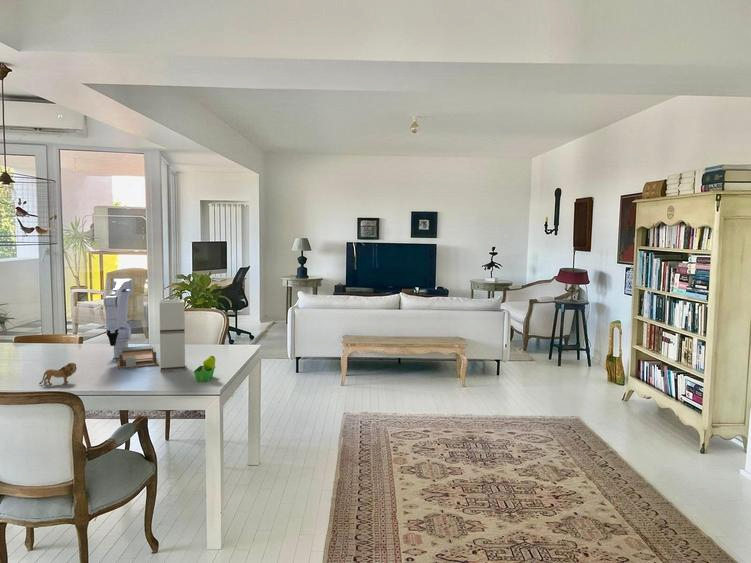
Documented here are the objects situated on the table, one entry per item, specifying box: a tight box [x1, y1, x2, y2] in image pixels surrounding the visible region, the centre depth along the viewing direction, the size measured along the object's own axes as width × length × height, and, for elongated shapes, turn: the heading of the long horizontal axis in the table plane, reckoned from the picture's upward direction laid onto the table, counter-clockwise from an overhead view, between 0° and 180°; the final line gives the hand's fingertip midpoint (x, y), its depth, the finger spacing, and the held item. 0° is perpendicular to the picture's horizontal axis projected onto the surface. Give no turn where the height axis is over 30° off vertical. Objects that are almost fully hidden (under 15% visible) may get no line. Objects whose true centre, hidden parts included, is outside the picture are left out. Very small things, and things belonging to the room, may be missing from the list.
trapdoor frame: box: [116, 346, 160, 370], centre depth 263 cm, size 18×19×6 cm
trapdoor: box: [122, 345, 153, 361], centre depth 263 cm, size 10×14×3 cm
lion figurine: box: [38, 362, 78, 386], centre depth 225 cm, size 15×5×9 cm, turn 119°
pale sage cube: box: [125, 356, 136, 367], centre depth 255 cm, size 4×4×5 cm
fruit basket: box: [193, 355, 216, 382], centre depth 237 cm, size 11×9×11 cm
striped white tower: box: [159, 299, 186, 372], centre depth 253 cm, size 11×11×35 cm
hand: (112, 344), depth 260 cm, fingers open, 7 cm apart
